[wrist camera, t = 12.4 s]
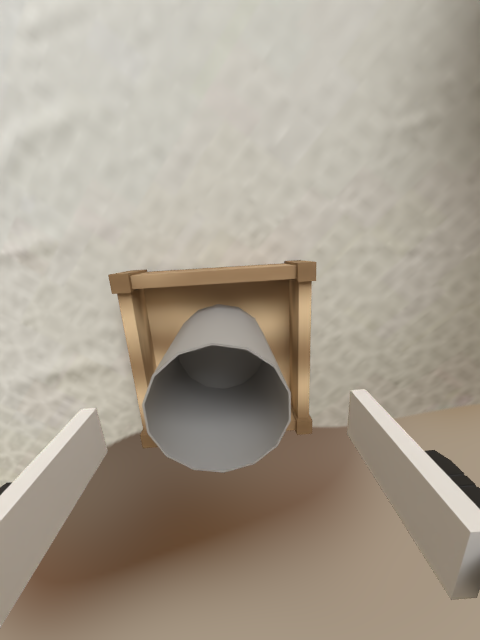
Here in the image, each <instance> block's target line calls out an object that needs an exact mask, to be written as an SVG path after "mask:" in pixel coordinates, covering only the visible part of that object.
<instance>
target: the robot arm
mask: <svg viewBox="0 0 480 640" xmlns="http://www.w3.org/2000/svg"><path fill="white" fill-rule="evenodd" d="M347 434H348V436H349V438H350V439H351V441H352V443H353V444H354V446H355V448H356V449H357V451H358V452H359V454H360V455H361V457H362V459H363V460H364V462H365V463H366V465H367V466H368V468H369V470H370V471H371V473H372V474H373V476H374V478H375V479H376V481H377V483H378V484H379V486H380V487H381V489H382V490H383V492H384V494H385V495H386V497H387V499H388V500H389V502H390V503H391V505H392V507H393V508H394V510H395V511H396V513H397V515H398V516H399V518H400V519H401V521H402V523H403V524H404V526H405V527H406V529H407V530H408V532H409V534H410V535H411V537H412V538H413V540H414V542H415V543H416V545H417V546H418V548H419V550H420V551H421V553H422V554H423V556H424V558H425V559H426V561H427V562H428V564H429V566H430V567H431V569H432V570H433V572H434V573H435V575H436V577H437V578H438V580H439V581H440V583H441V585H442V586H443V588H444V590H445V591H446V593H447V594H448V596H449V598H450V599H451V600H455V599H467V598H477V596H478V593H479V590H480V488H479V487H476V485H475V483H473V482H472V481H471V480H470V479H469V478H468V477H467V476H465V475H464V473H463V472H462V471H461V470H460V469H459V468H458V467H457V466H456V465H455V464H454V463H453V462H452V461H451V460H449V459H448V458H446V457H444V456H443V455H441V454H440V453H438V452H437V451H435V450H429V451H424V450H423V449H422V448H421V447H420V446H419V445H418V444H417V443H416V442H415V441H414V440H413V439H412V438H411V437H410V436H409V435H408V434H407V433H406V431H404V429H403V428H401V426H400V425H399V424H398V423H397V422H396V421H395V420H394V419H393V418H392V417H391V416H390V415H389V414H388V413H387V412H386V411H385V409H384V408H383V407H382V406H381V405H380V404H379V403H378V402H377V401H376V400H375V399H374V398H373V397H372V396H371V395H370V394H369V393H368V392H367V391H366V390H365V389H361V390H351V391H350V404H349V416H348V429H347ZM106 453H107V447H106V443H105V439H104V435H103V431H102V428H101V424H100V420H99V416H98V412H97V408H89V409H81V410H80V411H79V412H78V413H77V414H76V415H75V416H74V417H73V418H72V419H71V421H70V422H69V423H68V424H67V425H66V426H65V427H64V428H63V429H62V430H61V431H60V432H59V433H58V434H57V435H56V437H55V438H54V439H53V440H52V441H51V442H50V443H49V444H48V445H47V446H46V447H45V448H44V449H43V450H42V452H41V453H40V454H39V455H38V456H37V457H36V458H35V459H34V460H33V461H32V462H31V463H30V464H29V465H28V466H27V468H26V469H25V470H24V471H23V472H22V473H21V474H20V475H19V476H18V477H17V478H16V479H15V480H14V481H13V482H11V483H6V484H4V485H3V486H2V487H0V627H1V626H2V624H3V622H4V621H5V619H6V617H7V616H8V614H9V612H10V611H11V609H12V608H13V606H14V604H15V603H16V601H17V599H18V598H19V596H20V594H21V593H22V591H23V590H24V588H25V586H26V585H27V583H28V581H29V580H30V578H31V576H32V574H33V573H34V571H35V570H36V568H37V567H38V565H39V563H40V562H41V560H42V558H43V557H44V555H45V553H46V551H47V550H48V548H49V547H50V545H51V544H52V542H53V540H54V539H55V537H56V535H57V533H58V532H59V530H60V529H61V527H62V526H63V524H64V522H65V521H66V519H67V517H68V516H69V514H70V512H71V511H72V509H73V508H74V506H75V504H76V502H77V501H78V499H79V498H80V496H81V494H82V493H83V491H84V489H85V488H86V486H87V484H88V483H89V481H90V479H91V478H92V476H93V475H94V473H95V471H96V469H97V468H98V467H99V465H100V463H101V461H102V460H103V458H104V456H105V455H106Z"/></svg>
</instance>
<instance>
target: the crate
mask: <svg viewBox="0 0 480 640" xmlns="http://www.w3.org/2000/svg"><path fill="white" fill-rule="evenodd" d="M108 276H109V281H110V286H111V291H112V294H117V295H118V300H119V305H120V310H121V315H122V321H123V326H124V331H125V336H126V341H127V347H128V352H129V357H130V362H131V367H132V372H133V378H134V383H135V388H136V393H137V398H138V404H139V409H140V414H141V419H142V424H143V430H142V433H141V435H140V437H141V442H142V447H143V448H152V447H158V446H157V445H156V443H155V442H154V441H153V440H152V438H151V437H150V436H149V435H148V433H147V429H146V423H145V418H144V413H143V408H142V403H143V400H144V397H145V394H146V392H147V389H148V386H149V383H150V380H151V377H152V375H153V373H154V372H155V370H156V368H157V367H158V365H159V363H160V362H161V360H162V358H163V357H164V355H165V354H166V352H167V350H168V349H169V347H170V345H171V344H172V342H173V340H174V339H175V337H176V335H177V334H178V332H179V330H180V329H181V327H182V325H183V324H184V323H185V322H186V321H187V320H188V319H189V318H190V317H191V316H192V315H193V314H194V313H196V312H197V311H198V310H200V309H203V308H206V307H210V306H213V305H216V304H222V305H228V306H235V307H239V308H241V309H242V310H243V311H245V312H246V313H248V314H249V315H251V316H252V317H254V318H255V319H256V321H257V323H258V325H259V327H260V328H261V330H262V332H263V334H264V336H265V338H266V340H267V342H268V344H269V346H270V349H271V351H272V353H273V355H274V357H275V359H276V361H277V364H278V366H279V368H280V370H281V372H282V374H283V377H284V379H285V381H286V383H287V385H288V387H289V389H290V392H291V422H290V424H289V425H288V427H287V429H286V431H289V430H295V431H296V433H297V435H300V434H310V433H312V419H311V417H310V415H309V378H310V330H311V283H312V281H316V262H311V261H301V260H297V261H285V263H284V264H268V265H252V266H235V267H219V268H203V269H186V270H170V271H154V272H147V270H133V271H126V272H121V273H115V274H110V275H108Z"/></svg>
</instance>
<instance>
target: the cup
mask: <svg viewBox="0 0 480 640" xmlns="http://www.w3.org/2000/svg"><path fill="white" fill-rule="evenodd" d="M142 408H143V413H144V418H145V423H146V429H147V433H148V435H149V436H150V437H151V438H152V440H153V441H154V442H155V443H156V445H157V446H158V447H159V448H160V449H161V451H162V452H163V453H164V454H165V456H166V457H168V458H171V459H173V460H175V461H177V462H179V463H181V464H183V465H185V466H187V467H189V468H191V469H193V470H201V471H213V472H227V471H231V470H235V469H239V468H242V467H246V466H249V465H253V464H255V463H256V462H257V461H259V460H260V459H261V458H263V457H264V456H265V455H267V454H268V453H269V452H270V451H272V450H273V449H274V448H276V447H277V446H278V444H279V442H280V440H281V439H282V437H283V435H284V433H285V431H286V429H287V427H288V425H289V424H290V422H291V392H290V389H289V387H288V385H287V383H286V381H285V379H284V377H283V374H282V372H281V370H280V368H279V366H278V364H277V361H276V359H275V357H274V355H273V353H272V351H271V349H270V346H269V344H268V342H267V340H266V338H265V336H264V334H263V332H262V330H261V328H260V327H259V325H258V323H257V321H256V319H255V318H254V317H252V316H251V315H249V314H248V313H246V312H245V311H243V310H242V309H241V308H239V307H235V306H228V305H222V304H216V305H213V306H210V307H206V308H203V309H200V310H198V311H197V312H196V313H194V314H193V315H192V316H191V317H190V318H189V319H188V320H187V321H186V322H185V323H184V324H183V325H182V327H181V329H180V330H179V332H178V334H177V335H176V337H175V339H174V340H173V342H172V344H171V345H170V347H169V349H168V350H167V352H166V354H165V355H164V357H163V358H162V360H161V362H160V363H159V365H158V367H157V368H156V370H155V372H154V373H153V375H152V377H151V380H150V383H149V386H148V389H147V392H146V394H145V397H144V400H143V403H142Z"/></svg>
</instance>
